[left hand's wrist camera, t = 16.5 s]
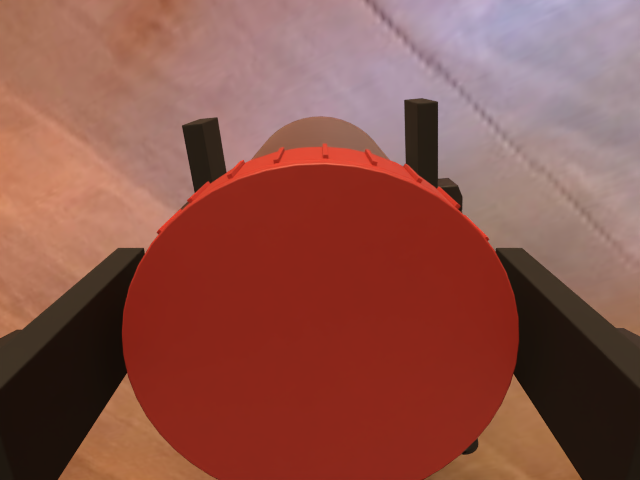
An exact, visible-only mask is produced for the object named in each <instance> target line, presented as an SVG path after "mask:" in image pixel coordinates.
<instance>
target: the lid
mask: <svg viewBox="0 0 640 480" xmlns="http://www.w3.org/2000/svg"><path fill="white" fill-rule="evenodd" d="M187 201H188V202H189V204H188V205H187V206H186V207H185V208H184V209H183V210H181V209H180V210H179V211H178V212H177V213H176V214H175V215H174V216H172V217H171V218H170V219H169V220H168V221H167V222H166V223H165V224H164V225H163V226H162V227H161V228H160V229H159V230H158V231H157V233H158V234H159V235H158V236H157V237H156V239H155V240H154V241H153V242H152V243H151V245H150V247H149V248H148V250H147V251H146V253H145V255H144V256H143V258H142V260H141V261H140V263H139V265H138V267H137V269H136V272H135V274H134V277H133V279H132V281H131V284H130V286H129V290H128V294H127V298H126V302H125V306H124V312H123V324H122V342H123V356H124V360H125V364H126V369H127V373H128V377H129V380H130V383H131V385H132V388H133V390H134V393H135V396H136V398H137V400H138V402H139V403H140V405H141V407H142V409H143V411H144V412H145V414H146V416H147V417H148V419H149V420H150V421H151V423H152V424H153V425H154V427H155V428H156V429H157V431H158V432H159V434H160V435H161V436H162V437H163V438H164V439H165V440H166V441H167V442H168V443H169V444H170V445H171V446H172V447H173V448H174V449H175V450H176V451H177V452H178V453H180V454H181V455H182V456H183V457H184V458H186V459H187V460H188V461H189V462H191V463H192V464H193V465H195V466H196V467H198V468H199V469H201V470H203V471H204V472H206V473H207V474H209V475H210V476H212V477H214V478H216V479H218V480H423V479H425V478H427V477H428V476H430V475H432V474H434V473H435V472H437V471H439V470H440V469H442V468H443V467H445V466H446V465H447V464H449V463H450V462H451V461H453V460H454V459H455V458H457V457H458V456H459V455H461V454H462V453H463V452H464V451H465V450H466V449H467V448H468V447H469V446H470V445H471V444H472V443H473V442H474V441H475V440H476V439H477V438H478V437H479V436H480V434H481V433H482V432H483V431H484V429H485V428H486V427H487V426H488V424H489V423H490V422H491V420H492V419H493V417H494V415H495V414H496V412H497V410H498V409H499V407H500V406H501V404H502V402H503V399H504V397H505V395H506V393H507V390H508V388H509V386H510V383H511V380H512V376H513V373H514V369H515V366H516V361H517V353H518V345H519V321H518V313H517V307H516V302H515V296H514V293H513V290H512V287H511V284H510V281H509V279H508V276H507V273H506V271H505V269H504V267H503V265H502V263H501V262H500V260H499V258H498V256H497V254H496V252H495V250H494V249H493V248H492V246H491V245H490V244H489V243H488V240H489V238H488V237H487V236H486V235H485V234H484V233H483V232H482V231H481V230H480V229H479V228H478V227H477V226H476V225H475V224H474V223H473V222H472V221H471V220H470V219H469V218H468V217H467V216H465V215H463V214H462V213H461V212H460V211H459V210H458V209H459V208H460V207H461V206H460V205H459V204H458V203H457V202H456V201H455V200H453V199H452V198H451V197H450V196H449V195H448V194H447V193H446V192H445V191H444V190H443V189H442V188H440V187H438V188H437V189H436V188H435V187H434V186H433V185H431V184H430V183H429V182H427V181H426V180H424V179H423V178H422V177H420V176H419V175H418V174H417V173H416V172H415V171H414V170H413V169H412V168H411V167H410V166H409V165H407V164H405V165H404V166H401V165H399V164H397V163H396V162H393V161H390V160H387V159H385V158H382V157H379V156H377V155H374V154H372V153H371V151H370V150H368V149H365V152H361V151H357V150H352V149H346V148H335V147H327V144H323V147H304V148H295V149H290V150H285V149H284V147H282V148H279V150H278V152H274V153H271V154H268V155H265V156H262V157H259V158H256V159H253V160H250V161H248V162H246V163H245V162H244V160H242V161H240V162H239V163H238V164H237V165H236V166H235V167H234V168H233V169H232V170H230V171H228V172H227V173H225V174H224V175H222V176H221V177H219V178H218V179H216V180H215V181H213V182H212V183H211V184H210V183H209V181H208V182H206V183H205V184H204V185H203V186H202V187H201V188H200V189H199V190H198V191H197V192H196V193H195V194H193V195H192V196H191V197H190V198H189V199H188V200H187Z"/></svg>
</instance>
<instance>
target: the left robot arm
mask: <svg viewBox="0 0 640 480" xmlns="http://www.w3.org/2000/svg"><path fill="white" fill-rule="evenodd" d="M496 254H497V256H498V258H499V260H500V262H501V263H502V265H503V267H504V269H505V271H506V273H507V276H508V279H509V281H510V284H511V287H512V290H513V293H514V296H515V302H516V307H517V313H518V321H519V345H518V353H517V361H516V366H515V369H514V373H513V374H514V375H515V377H516V378H517V380H518V381H519V383H520V384H521V386H522V388H523V389H524V391H525V392H526V394H527V395H528V397H529V398H530V400H531V401H532V403H533V404H534V406H535V408H536V409H537V411H538V412H539V414H540V415H541V417H542V418H543V420H544V421H545V423H546V424H547V426H548V428H549V429H550V431H551V432H552V434H553V435H554V437H555V438H556V440H557V441H558V443H559V444H560V446H561V448H562V449H563V451H564V452H565V454H566V455H567V457H568V458H569V460H570V461H571V463H572V464H573V466H574V468H575V469H576V471H577V472H578V474H579V475H580V477H581V478H582V480H640V336H638V335H636V334H634V333H632V332H630V331H628V330H626V329H624V328H615V327H614V326H613V325H612V324H610V323H609V322H608V321H607V320H606V319H605V318H603V317H602V316H601V315H600V314H599V313H598V312H596V311H595V310H594V309H593V308H592V307H590V306H589V305H588V304H587V303H586V302H585V301H583V300H582V299H581V298H580V297H579V296H578V295H576V294H575V293H574V292H573V291H572V290H571V289H569V288H568V287H567V286H566V285H565V284H564V283H562V282H561V281H560V280H559V279H558V278H556V277H555V276H554V275H553V274H552V273H551V272H549V271H548V270H547V269H546V268H545V267H544V266H542V265H541V264H540V263H539V262H538V261H537V260H535V259H534V258H533V257H532V256H531V255H529V254H528V253H527V252H526V251H525V250H524V249H522V248H496ZM144 255H145V253H144V248H118V249H116V250H115V251H114V252H113V253H112V254H111V255H109V256H108V257H107V258H106V259H105V260H103V261H102V262H101V263H100V264H99V265H98V266H96V267H95V268H94V269H93V270H92V271H91V272H89V273H88V274H87V275H86V276H85V277H84V278H82V279H81V280H80V281H79V282H78V283H76V284H75V285H74V286H73V287H72V288H71V289H69V290H68V291H67V292H66V293H65V294H64V295H62V296H61V297H60V298H59V299H58V300H57V301H55V302H54V303H53V304H52V305H51V306H50V307H48V308H47V309H46V310H45V311H44V312H42V313H41V314H40V315H39V316H38V317H37V318H35V319H34V320H33V321H32V322H31V323H30V324H28V325H27V326H26V327H25V328H24V329H23V330H15V331H14V332H12V333H10V334H8V335H6V336H4V337H2V338H0V480H58V478H59V477H60V475H61V474H62V472H63V471H64V469H65V468H66V466H67V464H68V463H69V461H70V460H71V458H72V457H73V455H74V454H75V452H76V451H77V449H78V448H79V446H80V444H81V443H82V441H83V440H84V438H85V437H86V435H87V434H88V432H89V431H90V429H91V428H92V426H93V424H94V423H95V421H96V420H97V418H98V417H99V415H100V414H101V412H102V411H103V409H104V408H105V406H106V404H107V403H108V401H109V400H110V398H111V397H112V395H113V394H114V392H115V391H116V389H117V388H118V386H119V384H120V383H121V381H122V380H123V378H124V377H125V375H126V374H127V369H126V364H125V360H124V356H123V342H122V324H123V312H124V306H125V302H126V298H127V294H128V290H129V286H130V284H131V281H132V279H133V277H134V274H135V272H136V269H137V267H138V265H139V263H140V261H141V260H142V258H143V256H144Z"/></svg>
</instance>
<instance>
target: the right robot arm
mask: <svg viewBox="0 0 640 480" xmlns="http://www.w3.org/2000/svg"><path fill="white" fill-rule="evenodd" d="M404 105H405V148H406V164H407V165H409V166H410V167H411V168H412V169H413V170H414V171H415V172H416V173H417V174H418V175H419V176H420V177H422V178H423V179H424V180H426V181H427V182H429V183H430V184H431V185H433V186H434V187H435V188H436V189H437V188H438V187H440V188H442V189H443V190H444V191H445V192H446V193H447V194H448V195H449V196H450V197H451V198H452V199H453V200H455V201H456V202H457V203H458V204H459V205H460V206H461V207H460V208H459V209H458V210H459V211H460V212H461V213H462V195H461V192H460V190H459V187H458V185H456V184H455V183H454V182H453V181H451V180H450V179H449V178H443V179H438V102H437V101H432V100H427V99H423V98H420V99H409V100H404ZM182 128H183V133H184V139H185V144H186V149H187V154H188V160H189V165H190V170H191V175H192V181H193V186H194V191H195V193H196V192H197V191H198V190H199V189H200V188H201V187H202V186H203V185H204V184H205V183H206V182H208V181H209V183H210V184H211V183H212V182H213V181H215V180H216V179H218V178H219V177H221V176H222V175H224V174H225V173H226V167H225V161H224V155H223V149H222V143H221V136H220V130H219V124H218V118H206V119H199V120H196V121H193V122H191V123H188V124H185V125H182ZM188 204H189V202H187V203H186V204H185V205H184V206H183V207H182V208H181V210H183V209H184V208H185V207H186V206H187V205H188ZM477 447H478V439H476V440H475V441H474V442H473V443H472V444H471V445H470V446H469V447H468V448H467V449H466V450H465V451H464V452H463V453H462V454H463V455H466V454H471V453H473V452H474V451H475V450H476V449H477Z"/></svg>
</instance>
